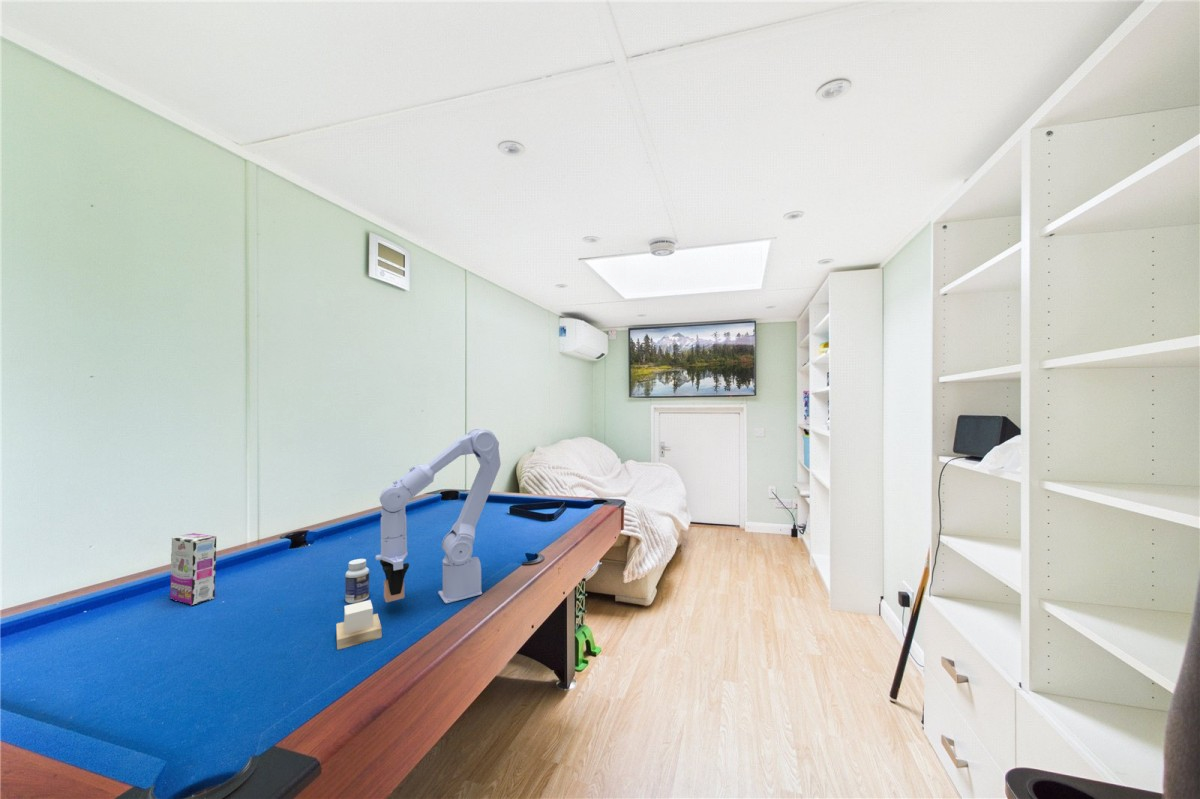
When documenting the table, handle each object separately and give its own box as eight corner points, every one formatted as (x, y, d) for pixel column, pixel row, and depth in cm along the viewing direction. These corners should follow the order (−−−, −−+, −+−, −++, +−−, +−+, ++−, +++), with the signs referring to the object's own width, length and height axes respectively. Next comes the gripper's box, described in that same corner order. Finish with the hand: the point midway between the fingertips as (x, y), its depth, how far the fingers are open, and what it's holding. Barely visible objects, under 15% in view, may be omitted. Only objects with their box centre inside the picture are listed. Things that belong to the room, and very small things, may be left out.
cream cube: (370, 617, 93) (370, 599, 93) (372, 627, 89) (372, 608, 89) (344, 624, 90) (344, 605, 90) (345, 634, 86) (345, 614, 86)
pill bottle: (358, 604, 104) (358, 565, 104) (340, 603, 105) (340, 564, 105) (374, 595, 109) (374, 558, 110) (356, 593, 110) (356, 557, 111)
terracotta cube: (401, 592, 104) (401, 576, 104) (404, 598, 101) (404, 581, 101) (384, 596, 102) (383, 580, 102) (386, 602, 99) (385, 585, 99)
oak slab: (377, 622, 95) (377, 613, 95) (381, 637, 88) (381, 628, 88) (336, 633, 90) (336, 623, 90) (337, 649, 84) (337, 639, 84)
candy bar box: (216, 598, 109) (217, 535, 110) (192, 606, 104) (193, 541, 105) (193, 592, 113) (194, 532, 114) (168, 600, 109) (170, 537, 109)
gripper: (372, 531, 106) (372, 585, 105) (378, 545, 94) (379, 606, 93) (402, 526, 110) (403, 578, 109) (412, 539, 98) (413, 597, 97)
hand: (394, 590), depth 101 cm, fingers closed on terracotta cube, 4 cm apart
